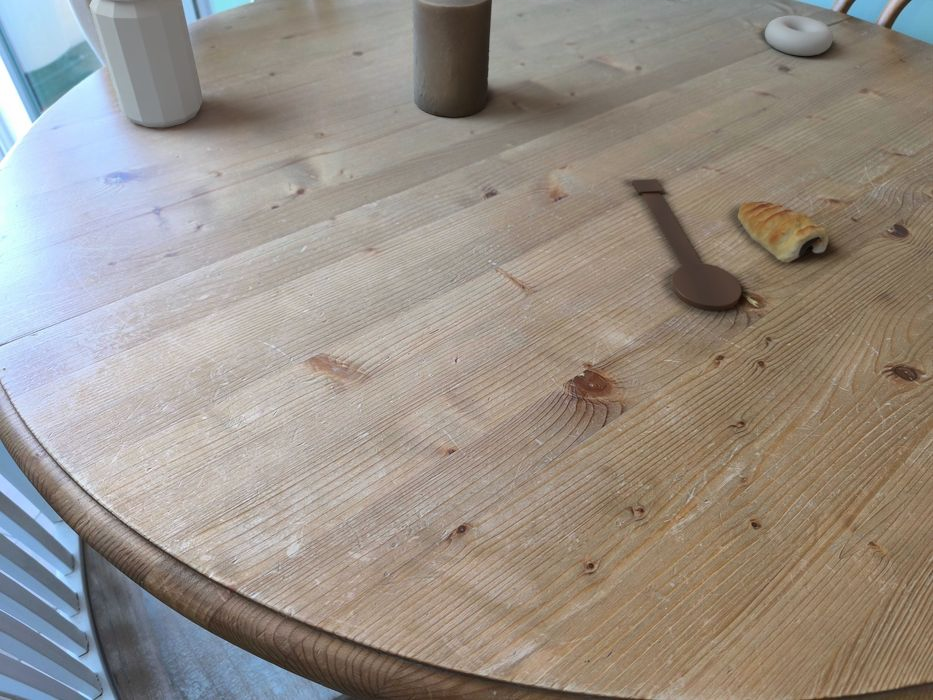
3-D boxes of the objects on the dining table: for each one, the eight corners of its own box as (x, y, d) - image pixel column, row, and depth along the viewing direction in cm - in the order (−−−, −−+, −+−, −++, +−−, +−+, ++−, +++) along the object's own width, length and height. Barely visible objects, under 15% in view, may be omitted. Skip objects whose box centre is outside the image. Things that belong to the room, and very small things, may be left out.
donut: (773, 29, 121) (752, 47, 115) (780, 7, 119) (759, 24, 113) (835, 45, 118) (817, 65, 111) (844, 23, 115) (826, 41, 109)
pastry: (718, 224, 80) (728, 193, 78) (763, 209, 83) (775, 179, 80) (783, 273, 74) (797, 242, 72) (830, 256, 77) (845, 225, 74)
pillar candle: (499, 110, 97) (508, -12, 87) (431, 123, 94) (431, -2, 83) (466, 79, 103) (471, -38, 93) (401, 91, 100) (398, -29, 90)
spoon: (669, 189, 85) (672, 176, 84) (747, 316, 70) (752, 303, 68) (614, 191, 84) (617, 179, 83) (682, 321, 69) (686, 308, 68)
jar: (123, 135, 89) (73, -27, 76) (122, 99, 95) (76, -56, 83) (208, 125, 91) (174, -33, 79) (201, 90, 98) (169, -61, 85)
